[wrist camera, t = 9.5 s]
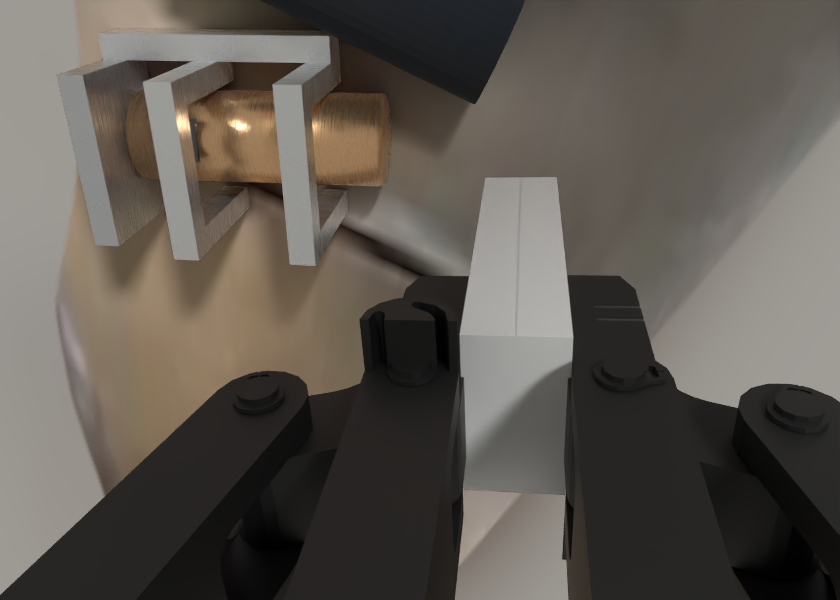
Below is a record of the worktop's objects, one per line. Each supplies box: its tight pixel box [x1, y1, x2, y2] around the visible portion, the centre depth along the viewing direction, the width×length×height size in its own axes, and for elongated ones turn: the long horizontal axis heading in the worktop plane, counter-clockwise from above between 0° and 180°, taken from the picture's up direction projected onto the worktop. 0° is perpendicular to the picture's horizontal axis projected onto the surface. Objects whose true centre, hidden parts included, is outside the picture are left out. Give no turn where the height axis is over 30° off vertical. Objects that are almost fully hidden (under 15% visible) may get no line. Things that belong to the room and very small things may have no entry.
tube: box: [126, 89, 391, 186], centre depth 36 cm, size 12×4×4 cm, turn 90°
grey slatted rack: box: [57, 28, 348, 266], centre depth 34 cm, size 11×9×7 cm
